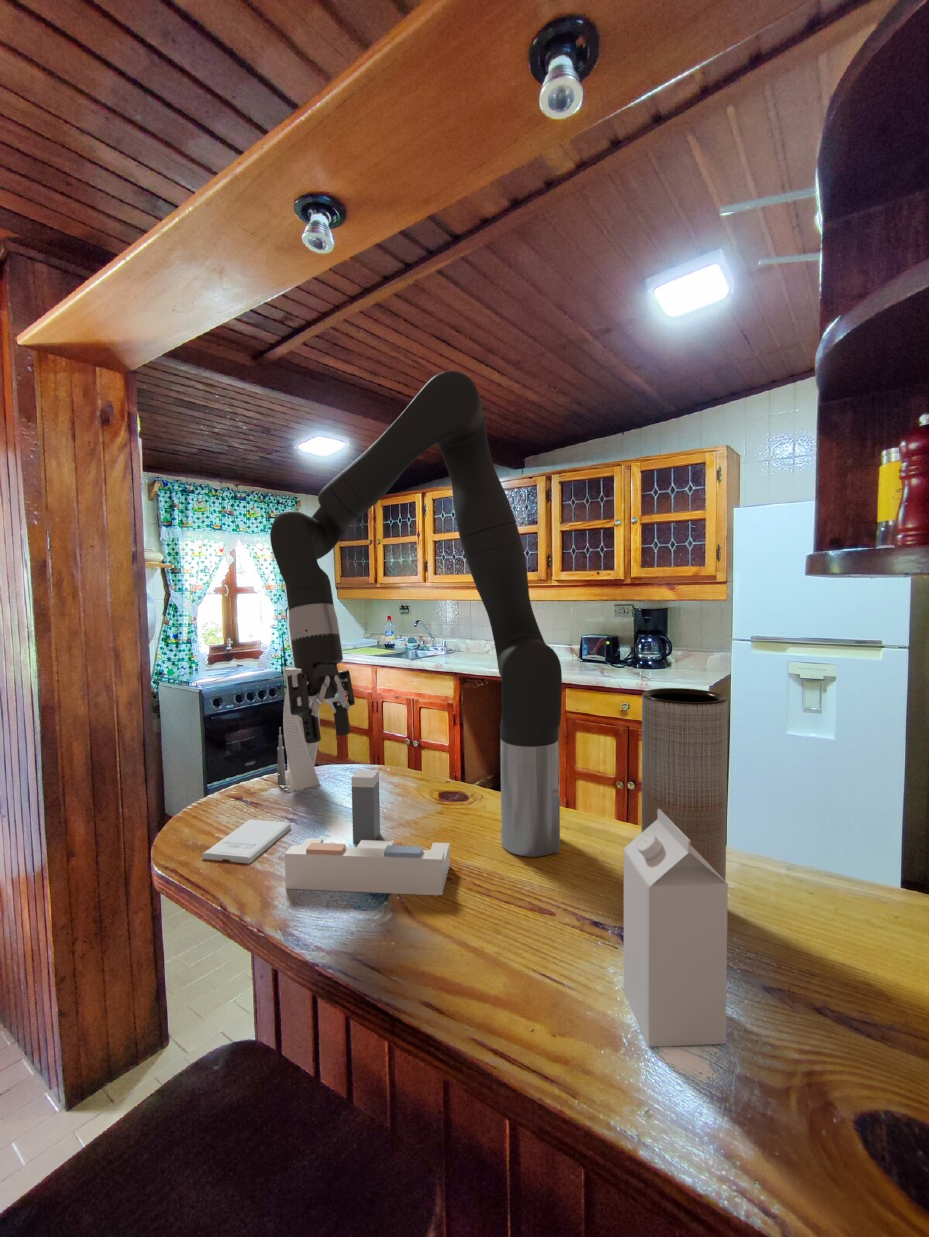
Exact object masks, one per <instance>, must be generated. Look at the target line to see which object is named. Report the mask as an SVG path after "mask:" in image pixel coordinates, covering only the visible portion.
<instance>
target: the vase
mask: <svg viewBox="0 0 929 1237" xmlns="http://www.w3.org/2000/svg"><path fill="white" fill-rule="evenodd" d="M728 705H729V702H728V697H727V696H725V695H724V694H721V693H720V692H719V693H718V692H716V691H715V692H714V691H711V690H704V689H698V688H697V689H696V688H687V687H686V688H684V687H683V688H681V687H661V688H654V689H653V688H652V689H648V690H646V691H644V692H643V693H642V694H641V833H642V832H643V831H644V830H646V829H647V828H648V827H649V826H650V825H651V824H652V823H653V822H655V821H656V820H657V819H658V809H660V810H661V811H662V812H663V813H664V814H665V815H666V816H667V817H668V818H669V819H670V820H671V821H672V822H673V823H674V824H675V825H676V826H677V827H678V828H679V829H680V830H681V831H682V833H683V834H684V835H685V836H686V837H687V838H688V839H689V840H690V845H691V846H692V847H693V848H694V849H695V850H696V851H697V852H698V853H699V854H700V855H701V856H702V857H703V858H704V859H705V860H706V861H707V862H708V864H709V865H710V866H711V867H712V868H713V869H714V870H715V871H716V872H717V873H718V874H719V875H720V876H721V877H722V878H723V879H724V880H725V881H726V877H727V874H726V872H727V868H726V867H727V866H726V864H727V801H728V800H727V799H728V798H727V795H728V794H727V792H728V791H727V790H728V789H727V786H728V778H727V777H728V766H727V765H728V719H729V718H728V716H729V714H728V713H729V712H728ZM726 882H727V881H726Z"/></svg>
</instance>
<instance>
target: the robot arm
mask: <svg viewBox="0 0 929 1237" xmlns="http://www.w3.org/2000/svg"><path fill="white" fill-rule="evenodd" d="M483 408H484V407H483V403H482V400H481V396H480V392H479V390H478V388H477V386H476V384H475V382H474V381H473V380H472V379H471V378H470V377H469V376H468V375H467V374H465V373H463V372H460V371H457V370H456V371H455V370H446V371H443V372H440V373H437V374H435V375H434V376H433V377H431V378H430V379H429V381H428V382H426V383H425V385H424V386H423V387H422V388H421V389H420V390H419V392H418V393H417V394H416V395H415V397H413V399H412V400H411V401H410V403H409V404H408V405H407V406H406V408H405V409H404V410H403V411H402V412H401V414H400V415H399V416H398V417H397V418H396V419H395V420H394V421H393V422H392V423H391V425H389V427H388V428H387V429H386V430H385V431H384V432H383V433H382V435H381V436H379V437H378V438H377V440H375V441H374V442H373V443H372V444H371V445H370V446H369V447H368V448H367V449H366V450H365V451H364V452H363V453H361V455H360V456H359V457H357V458H356V459H355V460H354V461H353V462H351V463H350V464H349V465H348V466H347V467H346V468H344V469H343V470H342V471H341V472H340V473H338V474H337V476H335V477H334V478H332V480H330V481H329V482H328V483H326V485H325V486H323V488H322V489H321V490H320V491H319V493H318V495H317V499H318V504H319V507H318V509H317V510H316V511H315V512H314V513H313V514H312V515H311V516H309V515H307V514H305V513H303V512H301V511H299V510H298V511H297V510H294V509H289V510H285V511H282V512H281V513H279V514H278V515H277V516H276V517H275V518H274V520H273V521H272V524H271V527H270V533H269V534H270V535H269V536H270V537H269V538H270V546H271V550H272V553H273V557H274V559H275V562H276V564H277V567H278V570H279V573H280V575H281V578H282V580H283V582H284V585H285V592H286V594H285V595H286V601H287V607H288V608H287V609H288V629H289V636H290V642H291V644H290V645H291V651H292V659H293V663H294V666H295V668H297V669H301V673H296V674H291V675H288V689H289V700H290V711H291V714H292V715H298V716H299V717H300V718H302V722H303V730H304V737H305V741H306V743H315V742H318V743H319V742H320V741H321V740H322V739H321V730H320V728H319V721H318V716H316V715H317V712H318V708H319V707H320V705H322V704H323V703H324V701H325V703H327V704H329V705H330V707H331V708H332V710H333V719H334V725H335V734H336V736H345V735H349V734H350V733H351V726H350V725H351V724H350V721H349V720H350V718H349V712H348V711H350V709H351V706H354V705H355V702H356V701H355V695H354V690H353V689H354V688H353V684H352V678H351V674H350V670H348V669H345V670H339V669H338V666H337V665H338V664H340V663H341V662H343V660H344V657H343V651H342V650H343V649H342V648H343V647H342V642H341V636H340V635H341V634H340V628H339V623H338V617H337V613H336V609H335V606H334V599H333V591H332V586H331V585H332V584H331V581H330V578H329V575H328V574H327V573H326V572H325V571H324V570H323V569H322V568H321V567H320V565H319V562H318V560H319V559H322V558H324V557H325V556H326V555H328V554H329V553H330V552H331V551H332V550H333V549H334V548H335V547H336V545H338V543H339V542H340V541H341V539H342V538H343V536H344V535H346V534H345V533H346V532H347V531H348V529H349V528H350V526H351V525H352V524H353V523H354V522H355V521H357V520H358V519H359V518H360V517H361V516H362V515H364V514H365V513H366V512H368V510H370V508H372V507H373V506H374V505H376V504H377V503H378V502H379V501H380V500H381V499H383V497H384V496H385V495H386V494H387V493H388V491H389V490H390V489H392V487H393V486H394V484H396V482H397V480H398V479H399V478H400V476H402V474H403V473H404V472H405V470H406V469H407V468H408V467H409V466H410V465H411V464H412V463H413V462H414V461H415V460H416V459H417V458H419V456H421V455H423V453H425V452H426V451H427V450H429V449H430V448H431V447H433V446H434V445H436V444H437V446H438V448H439V450H440V453H441V455H442V458H443V461H444V463H445V466H446V469H447V472H448V476H449V478H450V483H451V489H452V490H451V491H452V498H453V509H454V515H455V521H456V525H457V526H456V527H457V532H458V535H459V539H460V543H461V546H462V549H463V554H464V557H465V559H466V563H467V566H468V569H469V571H470V574H471V577H472V579H473V582H474V585H475V588H476V590H477V593H478V594H479V596H480V600H481V602H482V604H483V606H484V608H485V611H486V613H487V617H488V620H489V624H490V628H491V632H492V638H493V644H494V648H495V654H496V660H497V661H496V662H497V668H498V673H499V676H500V678H501V719H500V723H499V724H500V725H499V730H500V732H499V733H500V734H499V735H500V736H499V737H500V742H499V743H500V820H501V821H500V822H501V823H500V824H501V826H500V834H501V837H500V839H501V845H502V848H504V849H505V851H508V852H509V853H511V854H514V855H517V856H521V857H529V858H530V857H532V858H534V857H543V856H548V855H550V854H560V853H561V806H560V805H561V803H560V802H561V797H560V796H561V794H560V789H559V778H560V777H559V775H560V774H559V732H560V731H559V730H560V725H561V721H562V699H563V698H562V697H563V696H562V695H563V693H562V692H563V687H562V686H563V683H562V682H563V679H562V678H563V676H562V675H563V672H562V666H561V661H560V658H559V656H558V654H557V653H556V652H555V650H554V649H553V648H552V647H551V646H549V645H548V644H547V643H546V642H545V639H544V637H543V635H542V631H541V630H540V627H539V625H538V622H537V620H536V616H535V614H534V610H533V608H532V607H533V606H532V603H531V599H530V590H529V580H528V578H529V577H528V576H529V575H528V570H527V568H528V567H527V562H526V556H525V550H524V546H523V542H522V538H521V535H520V530H519V528H518V525H517V521H516V518H515V515H514V512H513V510H512V507H511V503H510V501H509V499H508V496H507V493H506V491H505V489H504V487H503V484H502V483H501V481H500V478H499V476H498V474H497V471H496V468H495V466H494V463H493V459H492V455H491V451H490V445H489V440H488V435H487V430H486V424H485V415H484V414H485V413H484V409H483ZM309 696H310V697H309ZM346 696H347V698H346ZM298 697H301V698H300V702H301V706H298V703H297V698H298ZM310 705H311V708H310V707H309V706H310ZM319 709H320V708H319ZM315 716H316V717H315Z"/></svg>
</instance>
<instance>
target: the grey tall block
mask: <svg viewBox="0 0 929 1237" xmlns="http://www.w3.org/2000/svg"><path fill="white" fill-rule="evenodd" d="M380 806H381V805H380V771H379V770H377V769H373V770H372V769H357V771H355V772H354V774H353V775H352V776H351V810H352V812H351V813H352V814H351V815H352V843H353V844H359V843H360V841H361V840H375V841H378V839H379V837H380V835H381V814H380V813H381V809H380Z"/></svg>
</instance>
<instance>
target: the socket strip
mask: <svg viewBox="0 0 929 1237" xmlns="http://www.w3.org/2000/svg"><path fill="white" fill-rule="evenodd" d="M346 846H347V844H346V843H331V842H329V843H328V842H324V838H317V837H316V838H315V837H314V838H313V837H311V838H310V837H309V838H308V837H307V838H305V839H304V841H303V842H302V844H300V845H296V844H295V845H290V847H289V848H287V850H286V851H285V852H284V874H285V875H284V876H285V878H284V881H285V889H287V890H289V889H290V890H307V891H308V890H311V891H312V890H313V891H327V892H329V891H330V892H352V893H353V892H354V893H371V894H372V893H374V894H375V893H376V894H394V895H395V894H397V895H399V894H400V895H416V896H417V895H418V896H419V895H420V896H421V895H422V896H439V895H441V896H443V895H444V891H443V890H445V887H446V883H445V882H447V879H446V878H448V875H449V871H450V868H451V864H450V863H451V858H450V857H451V856H450V854H451V853H450V852H451V850H450V849H451V848H450V847H451V846H450V843H449V842H432V845H431V848H430V849H423V846H414V845H412V846H411V845H395V844H394V840H377V841H375V840H361V841H360V843H357V845H356V847H355V846H354V847H353V846H352V847H350V846H349V847H348V846H347V847H346ZM449 867H450V868H449ZM448 870H449V871H448ZM447 874H448V875H447ZM444 886H445V887H444ZM441 896H440V897H441Z"/></svg>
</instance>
